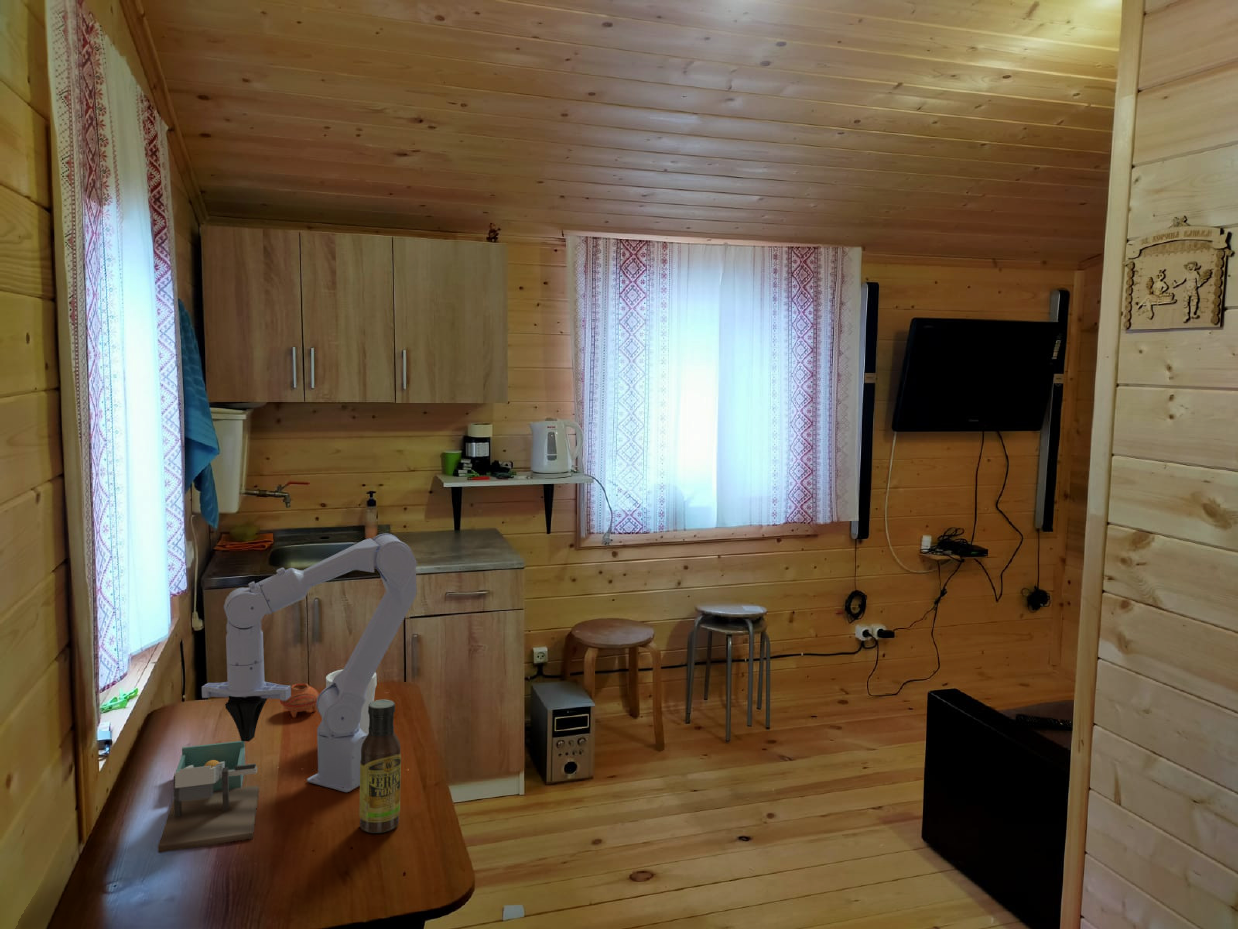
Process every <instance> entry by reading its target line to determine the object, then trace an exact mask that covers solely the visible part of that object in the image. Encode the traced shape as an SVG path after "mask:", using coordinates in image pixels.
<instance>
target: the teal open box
mask: <svg viewBox="0 0 1238 929" xmlns="http://www.w3.org/2000/svg"><path fill="white" fill-rule="evenodd" d="M245 742H246V741H241V740H236V741H235V740H234V741H226V742H219V743H217V742H215V743H207V744H199V745H198V744H197V745H192V746H191V745H190V746H183V747H182V748H181V756H180V759H179V762H178V765H177V768H176V771H175V773H176V772H178V771H180V769H184V768H186V767H188V766H190V765H193V768H195V767H203V766H204V765H205V764H206V763H207V762H208V761H211V760H216V761H218V762H224V761H225V767H228V770H235V766H238V765H246V747H245V746H246V744H245ZM244 776H245V775H237V776H229V789H234V788H241V787H243V783H244ZM242 782H243V783H242ZM218 790H222V778H220V779H219V780H218V781H217V782H215V783H214V791H218Z"/></svg>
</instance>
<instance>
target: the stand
mask: <svg viewBox="0 0 1238 929" xmlns="http://www.w3.org/2000/svg"><path fill="white" fill-rule="evenodd" d="M172 778H173V779H172V783H173V800H172V803H171V805H170V809H169V812H168V815H167V817H166V820H165V824H164V827H163V830H162V833H161V836H160V837H159V838H160V839H159V842H158V845H157V853H158V852H159V853H163V852H164V853H165V852H171V851H178V850H185V849H192V848H199V847H207V846H213V845H219V843H221V844H226V843H225V842H228V843H234V842H233V841H235V842H237V841H236V840H242V841H244V840H243V839H249V840H253V838H254V833H253V832H255V825H254V824H256V823H255V822H256V818H255V816H256V817H257V810H256V808H257V809H258V803H257V801H259V795H258V794H259V793H260V785H250V786H244V787H243V786H242V788H234V789H229V776H228V767H225V768H223V769H222V790H218V791H214V795H213V796H212V797H210V798H202V799H194V800H187V801H179V788H175V773H174V775H173V777H172ZM231 841H232V842H231Z"/></svg>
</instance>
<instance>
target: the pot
mask: <svg viewBox="0 0 1238 929" xmlns="http://www.w3.org/2000/svg"><path fill="white" fill-rule="evenodd" d="M290 686H291V697H289V698H288V699H287V700H286V701H284V700H280V699H279V703H280V704H281V705H282V706H283V708H285V709H286V710H288V711H289V712H290V714H291V716H292V717H291V718H296V717H297V714H298V713H301V712H305V711H308V710H311V709H312V711H313V712H314V713H315V712H316V711H317V710H318V709H317V699H318V696H319V694H320V693H319V692H318V690H317V689H315V688H314V687H313V686H310V685H309V684H308V683H306V682H299V683H295V684H292V685H290Z"/></svg>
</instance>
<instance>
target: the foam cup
mask: <svg viewBox="0 0 1238 929" xmlns="http://www.w3.org/2000/svg"><path fill="white" fill-rule="evenodd" d="M341 671H343V669H338V670H335V671H333V672H330V673H328V674H327V675H326V676H325V688H327V687H328V686H329V685H330V684H331V683H332V681H333V680H334V678H335V676H336V675H338V674H339V673H340V672H341ZM377 683H378V682H377V672H375V673H374V675H373V677H372V679H371V680H370V682H369V684H368V688H367V695H366V700H365V702H364V704H363V706H362V709H361V720H360V728H361V730H362V731H363V732H364V733H365V734H367V735H368V734H369V729H368V728H369V713H368V707H369V704H370V703H371V702H373V701H375V695H376V694H375V693H376V687H377Z"/></svg>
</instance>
